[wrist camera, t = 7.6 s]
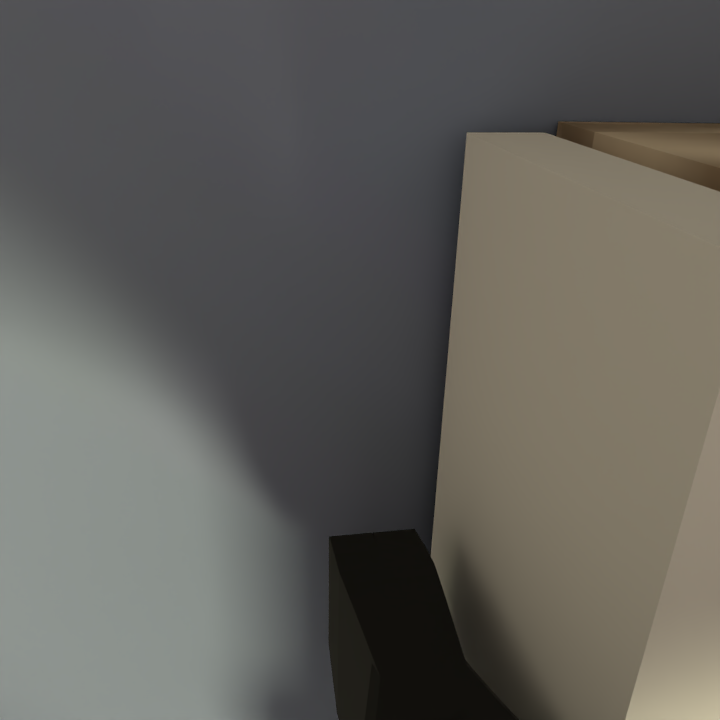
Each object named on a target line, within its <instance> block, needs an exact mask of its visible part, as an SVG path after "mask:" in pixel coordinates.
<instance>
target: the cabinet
mask: <svg viewBox="0 0 720 720" xmlns="http://www.w3.org/2000/svg"><path fill="white" fill-rule="evenodd" d="M556 137H559V138H562V139H565V140H568V141H571V142H574V143H577V144H580V145H583V146H586V147H589V148H592V149H595V150H598V151H601V152H604V153H607V154H610V155H613V156H616V157H619V158H622V159H625V160H628V161H630V162H633V163H636V164H639V165H642V166H645V167H648V168H651V169H654V170H657V171H660V172H663V173H666V174H669V175H672V176H675V177H678V178H681V179H684V180H687V181H690V182H693V183H696V184H699V185H702V186H705V187H707V188H710V189H713V190H716V191H719V192H720V123H638V122H558V128H557V134H556Z"/></svg>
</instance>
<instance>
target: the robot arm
mask: <svg viewBox="0 0 720 720" xmlns="http://www.w3.org/2000/svg"><path fill="white" fill-rule="evenodd" d="M329 650H330V658H331V666H332V675H333V683H334V691H335V699H336V707H337V714H338V719H339V720H519V719H518V718H517V717H516V716H515V715H514V714H513V713H512V712H511V711H510V710H509V708H508V707H507V706H506V705H505V704H504V703H503V702H502V701H501V700H500V699H499V698H498V696H497V695H496V694H495V693H494V692H493V691H492V690H491V689H490V687H489V686H488V685H487V684H486V683H485V682H484V681H483V680H482V678H481V677H480V676H479V675H478V674H477V673H476V672H475V670H474V669H473V668H472V667H471V666H470V664H469V663H468V662H467V661H466V660H465V657H464V654H463V651H462V648H461V645H460V642H459V638H458V635H457V632H456V629H455V626H454V623H453V619H452V616H451V613H450V610H449V607H448V603H447V600H446V597H445V594H444V591H443V588H442V585H441V582H440V579H439V576H438V573H437V570H436V567H435V564H434V562H433V560H432V558H431V556H430V554H429V552H428V551H427V549H426V547H425V545H424V543H423V542H422V540H421V539H420V537H419V536H418V534H417V532H416V531H415V529H409V530H398V531H387V532H376V533H373V534H372V533H365V534H353V535H342V536H331V537H329Z"/></svg>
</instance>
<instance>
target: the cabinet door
mask: <svg viewBox="0 0 720 720" xmlns="http://www.w3.org/2000/svg"><path fill="white" fill-rule="evenodd" d="M431 558H432V560H433V562H434V564H435V567H436V570H437V573H438V576H439V579H440V582H441V585H442V588H443V591H444V594H445V597H446V600H447V603H448V607H449V610H450V613H451V616H452V619H453V623H454V626H455V629H456V632H457V635H458V638H459V642H460V645H461V648H462V651H463V654H464V657H465V660H466V661H467V662H468V663H469V664H470V666H471V667H472V668H473V669H474V670H475V672H476V673H477V674H478V675H479V676H480V677H481V678H482V680H483V681H484V682H485V683H486V684H487V685H488V686H489V687H490V689H491V690H492V691H493V692H494V693H495V694H496V695H497V696H498V698H499V699H500V700H501V701H502V702H503V703H504V704H505V705H506V706H507V707H508V708H509V710H510V711H511V712H512V713H513V714H514V715H515V716H516V717H517V718H518V719H519V720H720V192H719V191H716V190H713V189H710V188H707V187H705V186H702V185H699V184H696V183H693V182H690V181H687V180H684V179H681V178H678V177H675V176H672V175H669V174H666V173H663V172H660V171H657V170H654V169H651V168H648V167H645V166H642V165H639V164H636V163H633V162H630V161H628V160H625V159H622V158H619V157H616V156H613V155H610V154H607V153H604V152H601V151H598V150H595V149H592V148H589V147H586V146H583V145H580V144H577V143H574V142H571V141H568V140H565V139H562V138H559V137H556V136H553V135H550V134H548V133H527V132H467V137H466V149H465V160H464V172H463V184H462V196H461V207H460V219H459V231H458V242H457V254H456V266H455V277H454V289H453V301H452V313H451V324H450V336H449V348H448V359H447V371H446V383H445V394H444V406H443V418H442V430H441V441H440V453H439V465H438V476H437V488H436V500H435V511H434V523H433V535H432V547H431Z"/></svg>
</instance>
